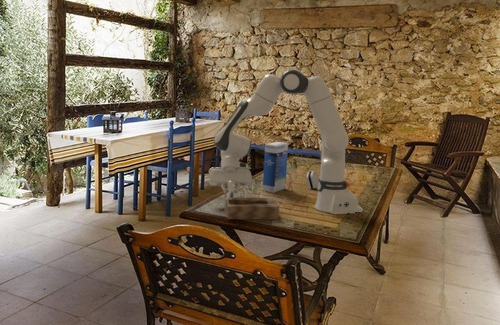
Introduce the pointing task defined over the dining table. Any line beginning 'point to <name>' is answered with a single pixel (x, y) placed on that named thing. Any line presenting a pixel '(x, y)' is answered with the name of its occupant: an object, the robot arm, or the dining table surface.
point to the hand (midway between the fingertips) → (231, 192)
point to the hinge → (312, 179)
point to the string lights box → (275, 166)
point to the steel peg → (231, 189)
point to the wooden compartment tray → (251, 208)
